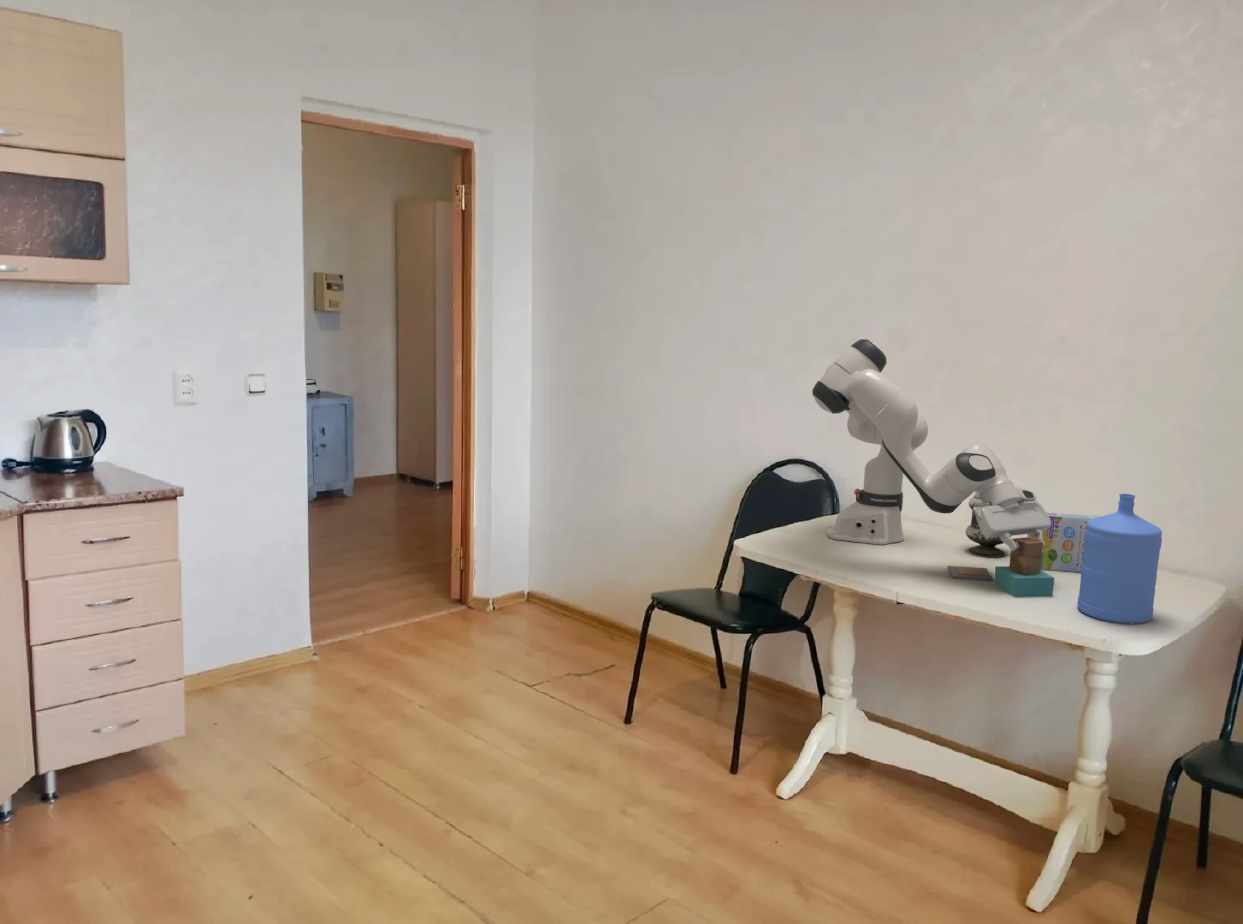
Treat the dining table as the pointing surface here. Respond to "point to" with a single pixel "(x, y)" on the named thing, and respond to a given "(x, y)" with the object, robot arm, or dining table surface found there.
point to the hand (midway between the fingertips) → (1028, 548)
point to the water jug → (1120, 566)
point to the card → (970, 573)
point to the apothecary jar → (982, 536)
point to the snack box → (1064, 541)
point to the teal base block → (1023, 583)
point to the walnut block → (1026, 556)
